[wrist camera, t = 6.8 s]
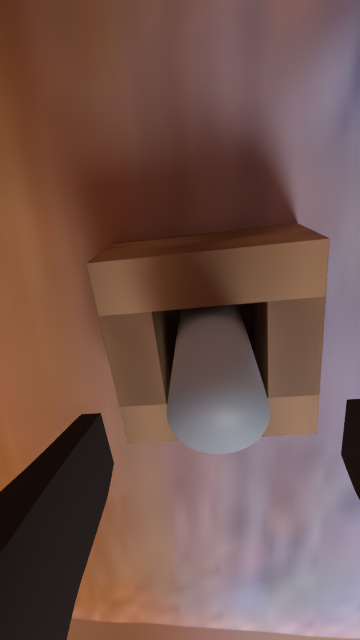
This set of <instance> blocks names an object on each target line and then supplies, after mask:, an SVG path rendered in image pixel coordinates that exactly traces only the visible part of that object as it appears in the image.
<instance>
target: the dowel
mask: <svg viewBox="0 0 360 640" xmlns="http://www.w3.org/2000/svg"><path fill="white" fill-rule="evenodd" d="M269 420H270V405H269V402H268V399H267V395H266V392H265V389H264V386H263V383H262V379H261V376H260V373H259V370H258V366H257V363H256V360H255V357H254V354H253V350H252V347H251V344H250V341H249V337H248V334H247V331H246V328H245V325H244V321H243V318H242V315H241V312H240V308H239V305H238V304H234V305H222V306H211V307H199V308H188V309H181V310H180V316H179V323H178V331H177V338H176V345H175V352H174V360H173V367H172V374H171V382H170V389H169V396H168V403H167V421H168V424H169V427H170V429H171V431H172V432H173V434H174V435H175V436H176V437H177V438H178V439H179V440H180V441H181V442H182V443H183V444H185V445H186V446H188V447H190V448H192V449H194V450H197V451H200V452H203V453H208V454H228V453H233V452H237V451H240V450H243V449H245V448H247V447H249V446H250V445H252V444H253V443H255V442H256V441H257V440H258V439H259V438H260V437H261V436H262V435H263V433H264V432H265V430H266V428H267V426H268V424H269Z"/></svg>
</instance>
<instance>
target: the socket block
mask: <svg viewBox="0 0 360 640" xmlns="http://www.w3.org/2000/svg"><path fill="white" fill-rule="evenodd" d="M329 241H330V238H328V237H325V236H323V235H321V234H319V233H317V232H315V231H313V230H311V229H308V228H306V227H304V226H302V225H300V224H292V225H282V226H273V227H264V228H255V229H245V230H236V231H227V232H218V233H208V234H199V235H190V236H181V237H171V238H162V239H153V240H144V241H134V242H125V243H116V244H111V245H110V246H108V247H107V248H106V249H105V250H103V251H102V252H101V253H99V254H98V255H97V256H96V257H94V258H93V259H92V260H90V261H89V262H88V263H86V264H87V269H88V273H89V277H90V282H91V286H92V290H93V295H94V299H95V303H96V308H97V312H98V316H99V321H100V325H101V329H102V334H103V338H104V342H105V347H106V351H107V355H108V359H109V364H110V368H111V372H112V377H113V381H114V385H115V390H116V394H117V398H118V403H119V407H120V411H121V416H122V420H123V424H124V429H125V433H126V437H127V442H128V443H143V442H163V441H180V440H179V439H178V438H177V437H176V436H175V435H174V434H173V432H172V431H171V429H170V427H169V424H168V421H167V403H168V396H169V389H170V382H171V374H172V367H173V359H172V352H171V345H170V338H169V331H168V324H167V317H166V310H176V309H188V308H199V307H211V306H222V305H234V304H245V303H253V324H254V357H255V360H256V363H257V366H258V370H259V373H260V376H261V379H262V383H263V386H264V389H265V392H266V395H267V399H268V402H269V405H270V420H269V424H268V426H267V428H266V430H265V432H264V433H263V435H262V436H261V437H263V436H283V435H303V434H317V423H318V408H319V392H320V377H321V362H322V347H323V332H324V317H325V301H326V286H327V271H328V256H329Z"/></svg>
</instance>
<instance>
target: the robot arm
mask: <svg viewBox="0 0 360 640" xmlns="http://www.w3.org/2000/svg"><path fill="white" fill-rule="evenodd" d="M341 455H342V458H343V461H344V463H345V466H346V469H347V472H348V474H349V477H350V479H351V482H352V484H353V487H354V489H355V492H356V494H357V496H358V497H359V499H360V399H350V400H347V404H346V414H345V423H344V433H343V442H342V451H341ZM113 465H114V462H113V458H112V454H111V451H110V447H109V443H108V439H107V435H106V431H105V428H104V424H103V420H102V416H101V413H96V414H81V415H80V416H79V417H78V418H77V419H76V420H75V421H74V422H73V423H72V424H71V425H70V426H69V427H68V428H67V429H66V430H65V431H64V432H63V433H62V434H61V435H60V436H59V437H58V438H57V439H56V440H55V441H54V442H53V443H52V444H51V445H50V446H49V447H48V448H47V449H46V450H45V451H44V452H43V453H42V454H41V455H39V456H38V457H37V458H36V459H35V460H34V461H33V462H32V463H31V464H30V465H29V466H28V467H27V468H26V469H25V470H24V471H23V472H22V473H20V474H19V475H18V476H17V477H16V478H15V479H14V480H13V481H12V482H10V483H9V484H8V485H7V486H6V487H5V488H4V489H3V490H2V491H1V492H0V640H66V639H67V635H68V631H69V626H70V622H71V618H72V613H73V609H74V605H75V601H76V597H77V593H78V590H79V586H80V583H81V579H82V576H83V573H84V570H85V567H86V564H87V561H88V557H89V554H90V551H91V548H92V545H93V542H94V539H95V535H96V532H97V529H98V526H99V523H100V520H101V516H102V513H103V510H104V507H105V503H106V500H107V496H108V492H109V487H110V482H111V476H112V471H113Z"/></svg>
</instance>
